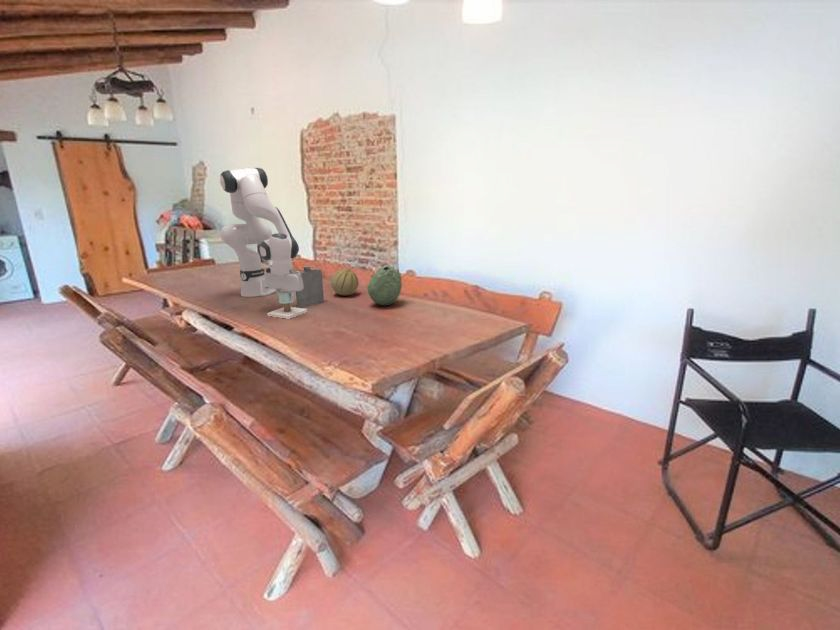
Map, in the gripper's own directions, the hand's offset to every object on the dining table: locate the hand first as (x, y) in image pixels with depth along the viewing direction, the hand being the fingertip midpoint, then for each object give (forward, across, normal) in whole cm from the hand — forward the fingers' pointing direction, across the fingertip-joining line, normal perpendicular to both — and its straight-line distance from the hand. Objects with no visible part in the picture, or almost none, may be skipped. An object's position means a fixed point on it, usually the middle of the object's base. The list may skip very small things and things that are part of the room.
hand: (285, 298), depth 207 cm
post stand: (+8, 0, 0) cm, 8 cm away
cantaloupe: (+8, -5, -41) cm, 42 cm away
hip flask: (+8, +1, -18) cm, 20 cm away
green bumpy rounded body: (+8, -35, -33) cm, 49 cm away
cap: (+2, 0, 0) cm, 2 cm away
